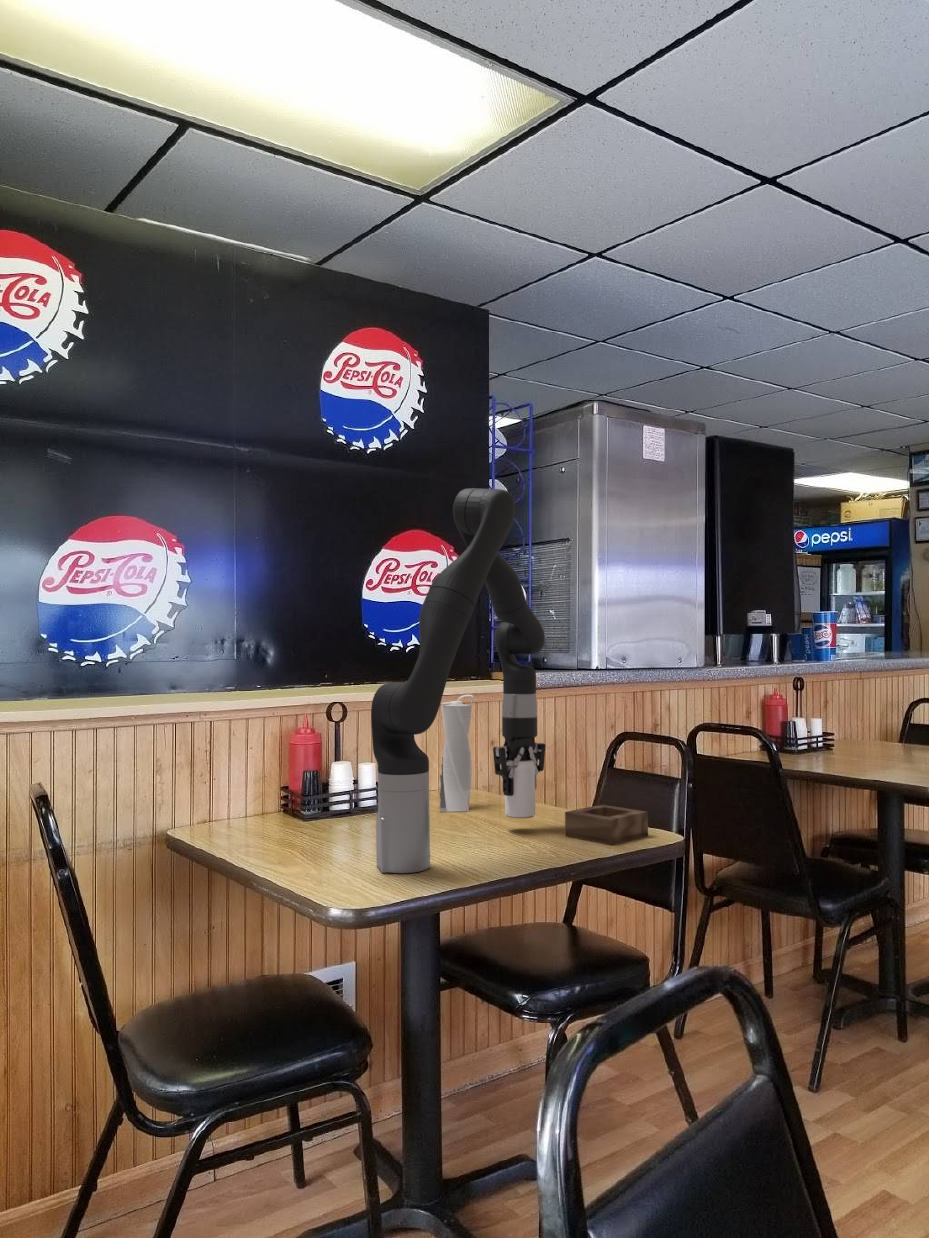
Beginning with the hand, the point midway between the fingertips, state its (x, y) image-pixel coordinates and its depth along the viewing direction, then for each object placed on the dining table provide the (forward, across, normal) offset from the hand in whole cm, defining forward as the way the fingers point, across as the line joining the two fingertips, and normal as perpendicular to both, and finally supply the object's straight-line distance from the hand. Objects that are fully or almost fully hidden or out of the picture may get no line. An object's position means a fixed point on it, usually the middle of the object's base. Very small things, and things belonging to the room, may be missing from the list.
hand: (519, 793), depth 198 cm
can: (+5, 0, 0) cm, 5 cm away
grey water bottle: (+8, +8, +29) cm, 31 cm away
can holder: (+8, +9, -16) cm, 20 cm away
